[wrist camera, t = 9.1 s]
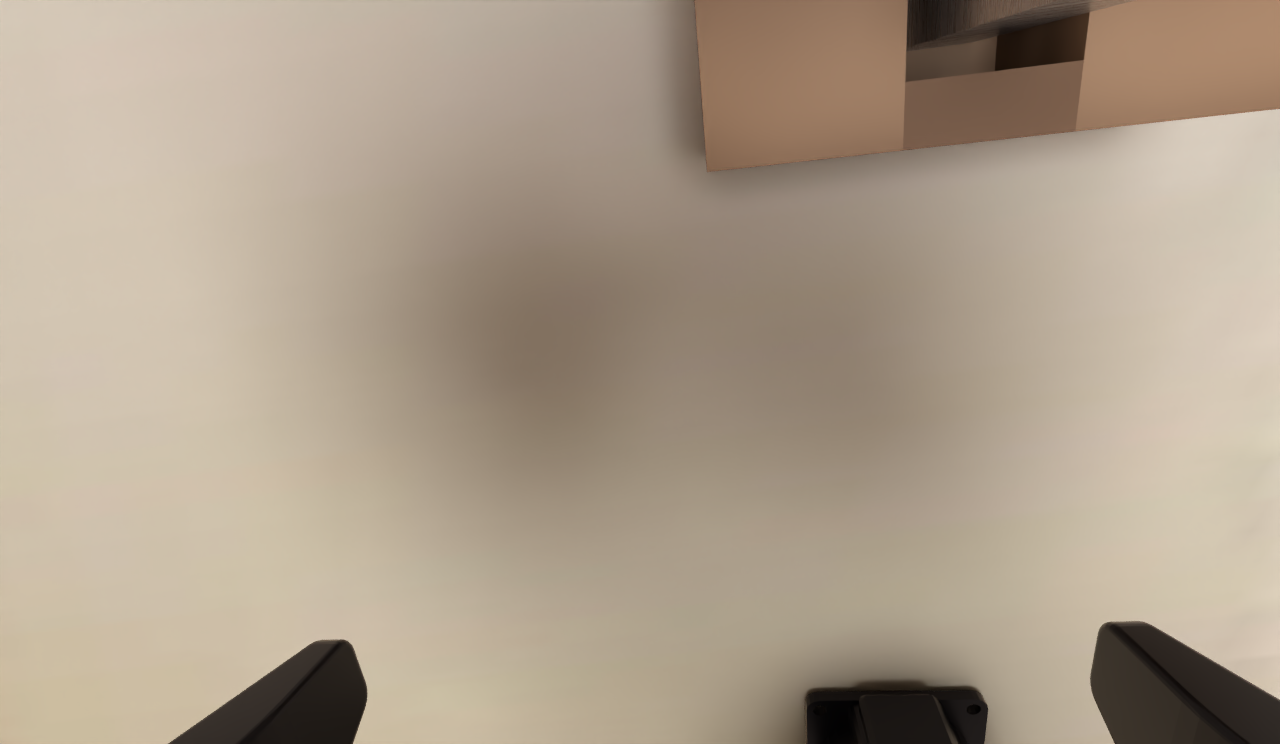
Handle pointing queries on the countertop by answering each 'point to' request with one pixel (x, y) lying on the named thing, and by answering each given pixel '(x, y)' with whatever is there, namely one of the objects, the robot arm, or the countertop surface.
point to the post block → (966, 75)
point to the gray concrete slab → (985, 18)
